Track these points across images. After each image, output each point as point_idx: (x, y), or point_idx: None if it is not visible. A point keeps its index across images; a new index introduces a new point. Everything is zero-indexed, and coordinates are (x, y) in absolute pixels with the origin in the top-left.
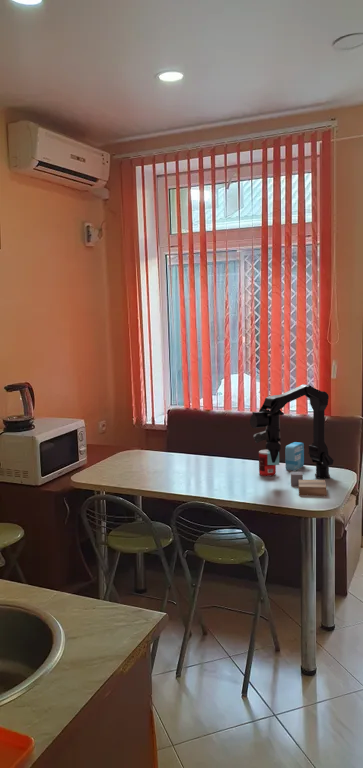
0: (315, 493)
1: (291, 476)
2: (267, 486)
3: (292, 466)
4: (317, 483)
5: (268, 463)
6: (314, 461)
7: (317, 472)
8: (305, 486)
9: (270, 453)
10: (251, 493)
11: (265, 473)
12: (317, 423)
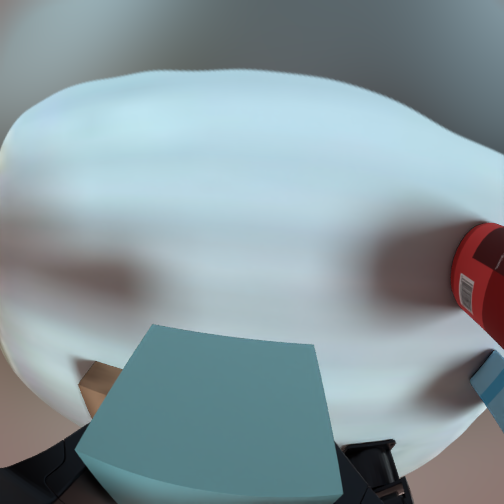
0: None
1: None
2: (230, 239)
3: (480, 385)
4: None
5: (147, 344)
6: (394, 485)
7: (361, 462)
8: (91, 406)
9: (31, 458)
10: (88, 136)
11: (462, 257)
12: None
